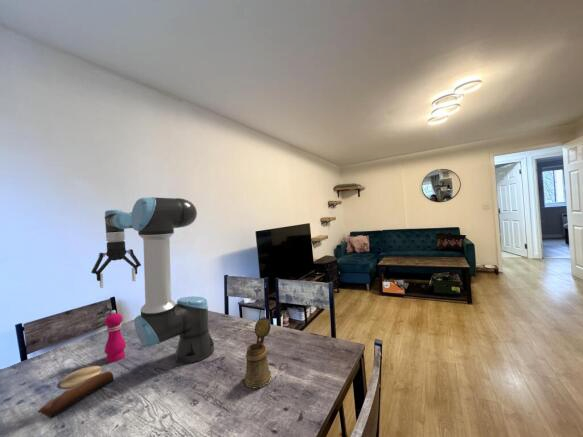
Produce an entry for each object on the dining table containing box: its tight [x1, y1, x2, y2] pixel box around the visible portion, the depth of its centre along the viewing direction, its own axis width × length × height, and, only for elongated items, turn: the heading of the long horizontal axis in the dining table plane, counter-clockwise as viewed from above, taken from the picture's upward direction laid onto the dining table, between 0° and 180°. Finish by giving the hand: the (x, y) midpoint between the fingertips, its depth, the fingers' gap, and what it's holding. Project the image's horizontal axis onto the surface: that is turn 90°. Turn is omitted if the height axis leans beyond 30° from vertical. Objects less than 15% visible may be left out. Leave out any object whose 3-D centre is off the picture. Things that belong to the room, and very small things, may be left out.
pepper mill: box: [104, 309, 127, 363], centre depth 105 cm, size 7×7×20 cm
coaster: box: [59, 365, 103, 389], centre depth 93 cm, size 12×12×1 cm
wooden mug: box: [244, 316, 272, 388], centre depth 88 cm, size 9×14×18 cm, turn 164°
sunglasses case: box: [37, 371, 115, 418], centre depth 83 cm, size 18×7×7 cm
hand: (118, 284), depth 124 cm, fingers open, 13 cm apart
